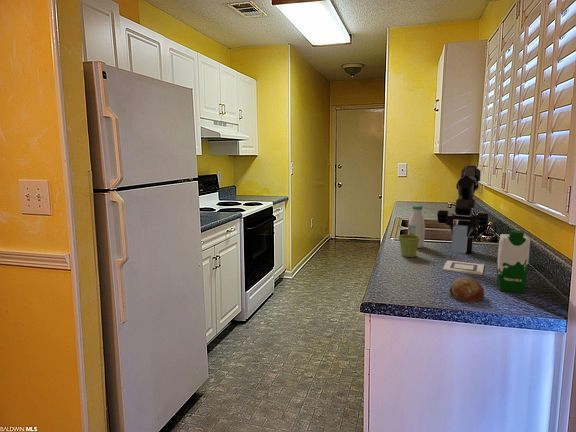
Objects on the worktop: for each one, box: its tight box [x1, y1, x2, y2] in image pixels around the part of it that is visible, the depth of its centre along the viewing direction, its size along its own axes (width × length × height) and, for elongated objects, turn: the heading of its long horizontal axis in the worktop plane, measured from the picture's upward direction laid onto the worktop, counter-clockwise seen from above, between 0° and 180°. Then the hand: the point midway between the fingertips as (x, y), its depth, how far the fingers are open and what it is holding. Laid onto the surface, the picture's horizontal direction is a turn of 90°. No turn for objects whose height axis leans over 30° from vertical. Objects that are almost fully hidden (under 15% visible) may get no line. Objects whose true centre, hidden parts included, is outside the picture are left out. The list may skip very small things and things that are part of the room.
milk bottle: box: [407, 204, 426, 249], centre depth 199 cm, size 8×8×20 cm
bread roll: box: [448, 276, 485, 303], centre depth 131 cm, size 10×10×8 cm
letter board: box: [442, 260, 485, 276], centre depth 163 cm, size 14×14×1 cm
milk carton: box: [496, 230, 531, 294], centre depth 137 cm, size 9×9×20 cm
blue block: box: [451, 224, 468, 254], centre depth 162 cm, size 5×5×10 cm
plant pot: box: [397, 234, 421, 258], centre depth 182 cm, size 9×9×9 cm
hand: (459, 235), depth 160 cm, fingers closed on blue block, 5 cm apart
